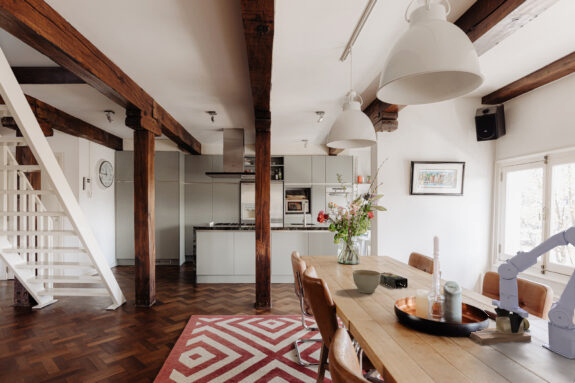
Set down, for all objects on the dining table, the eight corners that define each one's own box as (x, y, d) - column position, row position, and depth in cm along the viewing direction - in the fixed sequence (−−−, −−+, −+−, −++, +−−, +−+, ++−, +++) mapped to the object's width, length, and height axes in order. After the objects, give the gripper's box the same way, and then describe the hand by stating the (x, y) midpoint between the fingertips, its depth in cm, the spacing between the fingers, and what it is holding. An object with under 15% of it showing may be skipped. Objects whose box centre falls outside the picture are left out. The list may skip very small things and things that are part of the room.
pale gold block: (523, 333, 115) (523, 320, 115) (504, 334, 114) (503, 321, 114) (514, 329, 119) (514, 316, 119) (495, 330, 118) (495, 317, 118)
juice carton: (376, 281, 203) (376, 271, 203) (388, 280, 205) (388, 271, 206) (394, 289, 183) (394, 279, 184) (408, 288, 186) (408, 278, 186)
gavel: (470, 306, 143) (490, 305, 144) (471, 316, 143) (490, 315, 144) (506, 320, 122) (529, 319, 123) (507, 331, 122) (530, 330, 123)
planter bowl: (376, 297, 167) (376, 277, 167) (348, 292, 175) (348, 273, 176) (384, 290, 181) (383, 271, 181) (357, 286, 189) (357, 268, 189)
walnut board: (531, 341, 113) (530, 335, 113) (482, 344, 111) (482, 338, 111) (512, 332, 121) (512, 327, 121) (466, 334, 119) (466, 329, 119)
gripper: (484, 289, 124) (485, 323, 123) (515, 300, 109) (516, 338, 109) (500, 288, 125) (501, 322, 124) (533, 299, 110) (534, 337, 110)
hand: (509, 330), depth 117 cm, fingers closed on pale gold block, 4 cm apart
